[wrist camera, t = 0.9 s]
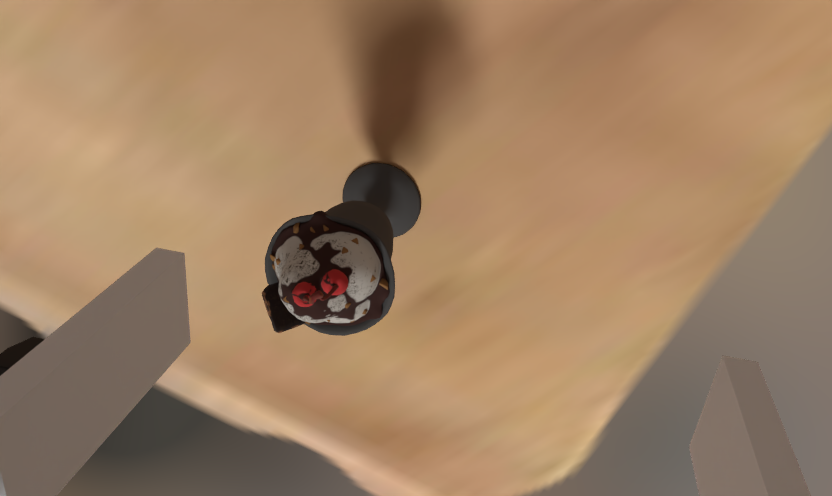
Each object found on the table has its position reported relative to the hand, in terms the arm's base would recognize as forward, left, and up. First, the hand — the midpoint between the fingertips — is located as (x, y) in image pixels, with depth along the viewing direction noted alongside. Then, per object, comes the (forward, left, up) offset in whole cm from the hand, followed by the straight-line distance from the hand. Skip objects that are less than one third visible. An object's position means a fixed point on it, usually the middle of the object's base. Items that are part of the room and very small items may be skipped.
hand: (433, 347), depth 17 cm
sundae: (+3, -10, -25) cm, 27 cm away
